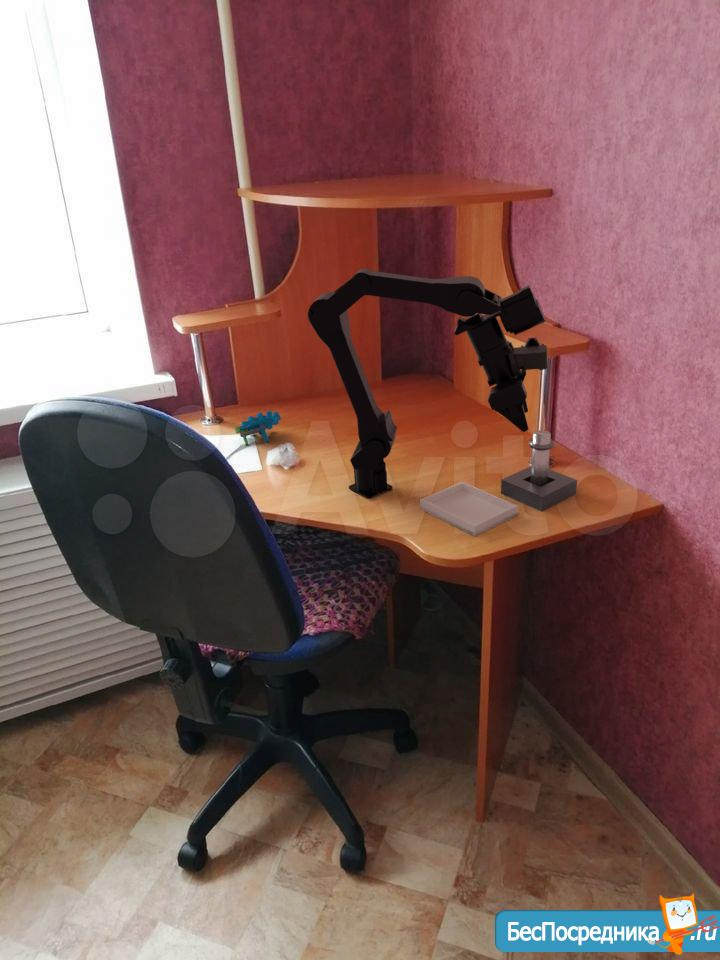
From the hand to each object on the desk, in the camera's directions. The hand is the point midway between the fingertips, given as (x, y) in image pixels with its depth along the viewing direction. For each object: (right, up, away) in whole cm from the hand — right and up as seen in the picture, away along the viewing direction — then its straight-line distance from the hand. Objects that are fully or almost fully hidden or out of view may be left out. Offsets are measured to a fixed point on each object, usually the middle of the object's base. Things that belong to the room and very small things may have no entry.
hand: (525, 421), depth 138 cm
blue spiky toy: (-54, -1, +39) cm, 67 cm away
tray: (-10, -17, +1) cm, 20 cm away
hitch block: (+4, -13, +7) cm, 15 cm away
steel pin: (+4, -13, +7) cm, 15 cm away
